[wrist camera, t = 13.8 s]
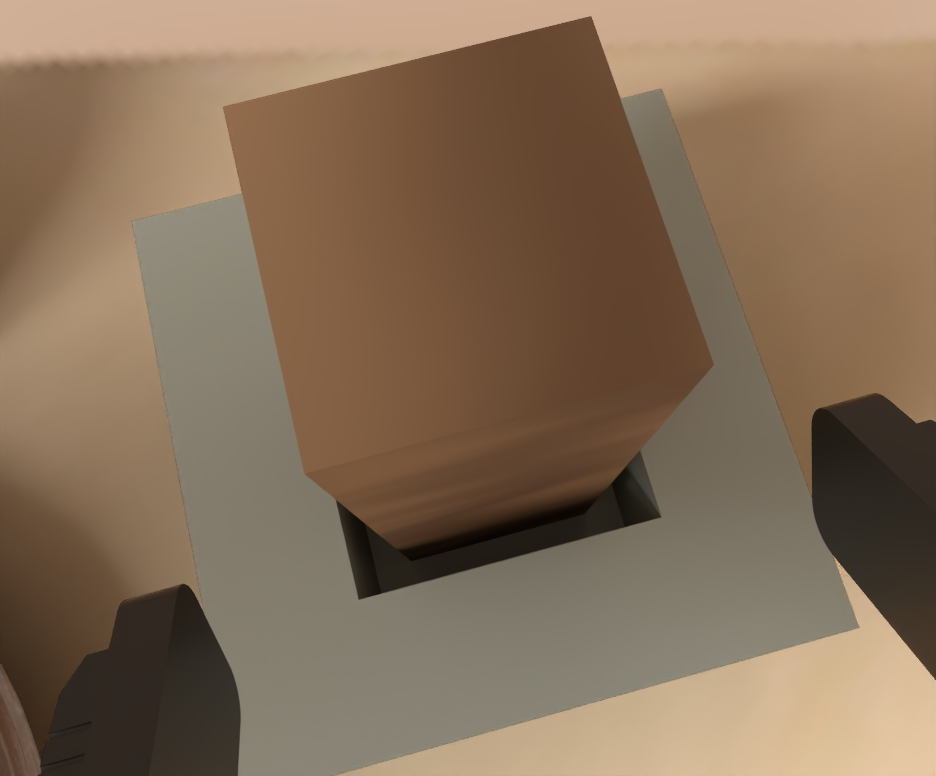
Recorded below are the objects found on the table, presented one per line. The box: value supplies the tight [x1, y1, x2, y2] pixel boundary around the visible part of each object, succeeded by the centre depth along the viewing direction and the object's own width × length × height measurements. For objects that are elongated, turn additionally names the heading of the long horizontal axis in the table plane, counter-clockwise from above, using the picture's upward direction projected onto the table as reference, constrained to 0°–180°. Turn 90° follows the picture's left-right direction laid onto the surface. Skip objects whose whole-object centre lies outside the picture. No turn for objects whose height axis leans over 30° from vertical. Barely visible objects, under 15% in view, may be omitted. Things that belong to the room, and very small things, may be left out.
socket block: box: [132, 89, 859, 776], centre depth 20 cm, size 11×11×6 cm
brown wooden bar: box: [223, 16, 714, 561], centre depth 15 cm, size 4×4×12 cm
